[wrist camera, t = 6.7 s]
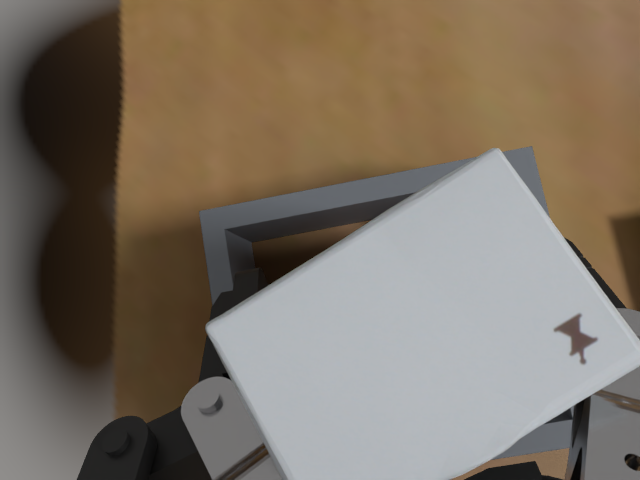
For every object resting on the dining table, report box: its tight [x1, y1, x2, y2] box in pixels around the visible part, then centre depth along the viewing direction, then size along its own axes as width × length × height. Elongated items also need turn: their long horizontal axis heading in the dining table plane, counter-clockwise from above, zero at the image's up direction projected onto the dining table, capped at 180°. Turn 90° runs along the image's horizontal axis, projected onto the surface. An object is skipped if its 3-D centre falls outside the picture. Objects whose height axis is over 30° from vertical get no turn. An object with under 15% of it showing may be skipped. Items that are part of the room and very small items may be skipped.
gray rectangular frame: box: [199, 146, 574, 460], centre depth 17 cm, size 10×12×4 cm
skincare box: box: [205, 148, 640, 480], centre depth 13 cm, size 6×4×12 cm
